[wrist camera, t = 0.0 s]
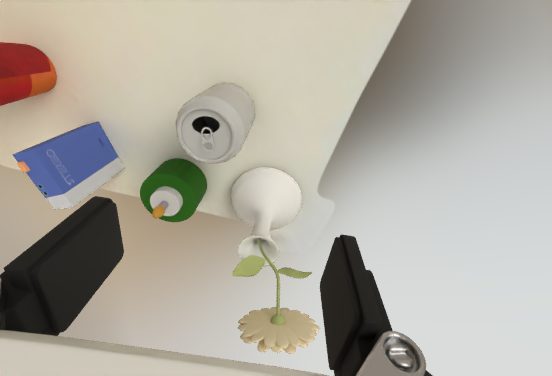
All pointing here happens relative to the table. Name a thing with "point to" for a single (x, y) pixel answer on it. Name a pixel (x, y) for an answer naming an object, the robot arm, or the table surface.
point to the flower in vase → (269, 256)
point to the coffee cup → (24, 72)
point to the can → (215, 123)
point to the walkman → (71, 165)
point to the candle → (173, 190)
